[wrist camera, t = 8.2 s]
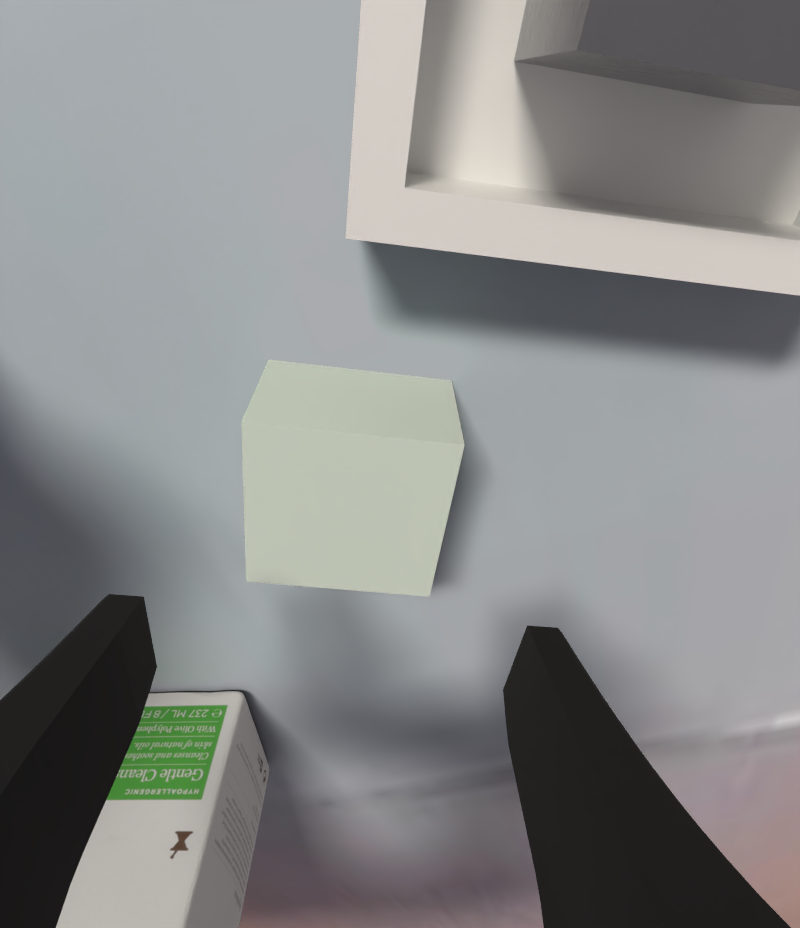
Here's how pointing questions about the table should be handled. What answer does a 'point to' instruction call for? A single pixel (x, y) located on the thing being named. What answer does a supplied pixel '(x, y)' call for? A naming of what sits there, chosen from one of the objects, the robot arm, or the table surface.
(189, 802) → the skincare box
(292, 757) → the table surface
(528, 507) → the table surface
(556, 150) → the box
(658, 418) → the table surface
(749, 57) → the metal block
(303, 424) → the pale green box
